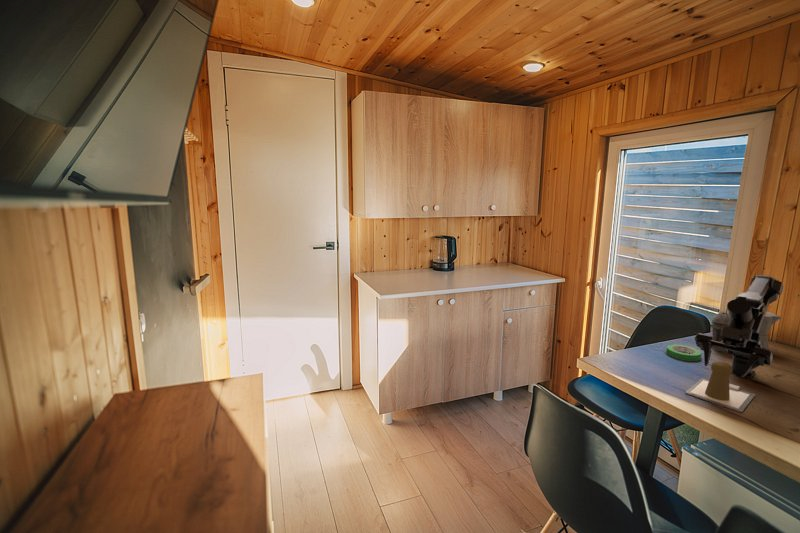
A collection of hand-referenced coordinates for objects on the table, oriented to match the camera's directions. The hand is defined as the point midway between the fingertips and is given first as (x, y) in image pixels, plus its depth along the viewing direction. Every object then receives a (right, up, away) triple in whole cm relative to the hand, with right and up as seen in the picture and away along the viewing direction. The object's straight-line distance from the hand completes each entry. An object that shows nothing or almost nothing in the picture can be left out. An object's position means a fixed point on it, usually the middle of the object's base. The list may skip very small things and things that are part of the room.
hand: (723, 370), depth 121 cm
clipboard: (+1, -8, +2) cm, 8 cm away
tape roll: (+10, -3, +31) cm, 33 cm away
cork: (-2, -8, 0) cm, 8 cm away
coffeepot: (+44, -1, +39) cm, 58 cm away
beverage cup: (+29, -1, +36) cm, 47 cm away
